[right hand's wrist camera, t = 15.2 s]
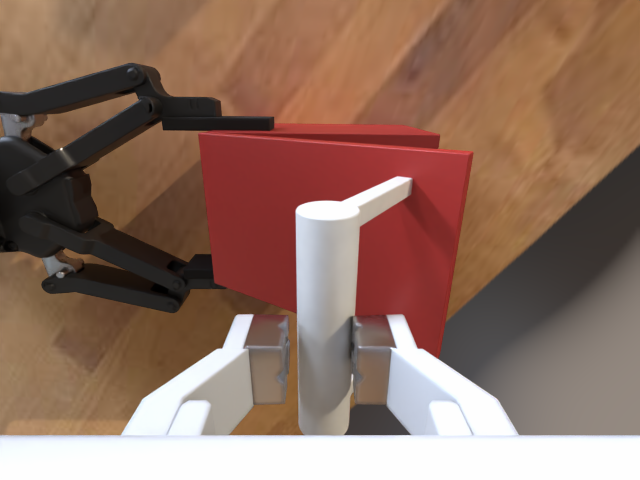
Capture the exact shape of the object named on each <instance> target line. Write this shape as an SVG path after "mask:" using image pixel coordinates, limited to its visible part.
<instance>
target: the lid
mask: <svg viewBox="0 0 640 480" xmlns="http://www.w3.org/2000/svg"><path fill="white" fill-rule="evenodd" d="M198 136H199V145H200V154H201V163H202V172H203V182H204V191H205V200H206V209H207V218H208V227H209V236H210V246H211V255H212V264H213V273H214V282H215V283H216V284H218V285H221V286H224V287H227V288H229V289H232V290H235V291H237V292H240V293H243V294H246V295H248V296H251V297H254V298H256V299H259V300H262V301H265V302H267V303H270V304H273V305H275V306H278V307H281V308H283V309H286V310H289V311H292V312H294V313H297V346H298V418H299V427H300V429H301V431H302V433H303V434H304V435H344V434H345V433H346V431H347V429H348V425H349V412H350V396H351V395H352V393H353V392H354V390H353V374H352V373H351V363H350V352H351V342H352V333H351V326H352V316H360V315H392V314H403V315H404V316H405V319H406V321H407V324H408V326H409V328H410V331H411V333H412V336H413V338H414V341H415V343H416V346H417V348H418V349H424V350H425V351H427V352H428V353H430V354H431V355H433V356H434V357H436V358H437V359H438V358H439V355H440V351H441V344H442V338H443V333H444V327H445V321H446V315H447V309H448V303H449V297H450V291H451V285H452V279H453V273H454V267H455V261H456V255H457V249H458V243H459V237H460V231H461V225H462V219H463V213H464V207H465V201H466V195H467V189H468V183H469V177H470V171H471V165H472V159H473V152H472V151H459V150H445V149H432V148H418V147H404V146H391V145H377V144H364V143H350V142H337V141H323V140H310V139H296V138H282V137H269V136H255V135H242V134H228V133H215V132H204V133H198Z"/></svg>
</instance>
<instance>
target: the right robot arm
mask: <svg viewBox="0 0 640 480" xmlns="http://www.w3.org/2000/svg"><path fill="white" fill-rule="evenodd" d="M288 333H289V318H288V315H257V314H255V315H253V314H238V315H236V316H235V318H234V321H233V323H232V326H231V328H230V331H229V333H228V336H227V338H226V341H225V343H224V346H223V348H222V349H216V350H215V351H213V352H212V353H210V354H209V355H207V356H206V357H204V358H203V359H201V360H200V361H198V362H197V363H195V364H194V365H192V366H191V367H189V368H188V369H186V370H185V371H183V372H182V373H180V374H179V375H177V376H176V377H175V378H173V379H172V380H170V381H169V382H167V383H166V384H164V385H163V386H161V387H160V388H158V389H157V390H155V391H154V392H152V393H151V394H149V395H148V396H146V397H145V398H143V399H142V401H141V403H140V404H139V406H138V408H137V409H136V411H135V413H134V414H133V416H132V418H131V419H130V421H129V423H128V424H127V426H126V428H125V429H124V431H123V432H122V434H121V435H0V480H640V435H519V434H518V433H517V431H516V429H515V428H514V426H513V424H512V422H511V421H510V419H509V418H508V416H507V414H506V413H505V411H504V409H503V408H502V406H501V404H500V402H499V401H498V399H496V398H495V397H493V396H492V395H490V394H489V393H488V392H486V391H485V390H483V389H482V388H480V387H479V386H477V385H476V384H474V383H473V382H471V381H470V380H468V379H467V378H465V377H464V376H462V375H461V374H459V373H458V372H456V371H455V370H453V369H452V368H450V367H449V366H448V365H446V364H445V363H443V362H442V361H440V360H439V359H437V358H436V357H434V356H433V355H431V354H430V353H428V352H427V351H425V350H424V349H418V348H417V346H416V343H415V341H414V338H413V336H412V333H411V331H410V328H409V326H408V324H407V321H406V319H405V316H404V315H403V314H392V315H360V316H352V326H351V333H352V342H351V352H350V363H351V373H352V374H353V390H354V398H355V404H377V405H387V407H388V409H389V410H390V411H391V412H392V413H393V414H394V416H395V417H396V418H397V419H398V420H399V421H400V422H401V424H402V425H403V426H404V427H405V428H406V429H407V431H408V432H409V433H410V434H411V435H229V434H230V433H231V432H232V431H233V430H234V428H235V427H236V426H237V425H238V424H239V423H240V422H241V420H242V419H243V418H244V417H245V416H246V415H247V413H248V412H249V411H250V410H251V409H252V408H253V405H263V404H285V398H286V390H287V374H288V373H289V362H290V340H289V339H288Z"/></svg>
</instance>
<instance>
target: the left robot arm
mask: <svg viewBox="0 0 640 480" xmlns="http://www.w3.org/2000/svg"><path fill="white" fill-rule="evenodd" d="M160 80H161V77H160V74H159V72H158V71H157V70H156V69H155V68H153V67H149V66H145V65H140V64H135V63H128V64H124V65H121V66H118V67H114V68H111V69H107V70H104V71H100V72H97V73H93V74H90V75H86V76H83V77H80V78H76V79H73V80H69V81H66V82H62V83H59V84H55V85H52V86H49V87H45V88H42V89H38V90H35V91H31V92H28V93H27V92H4V91H0V115H1V120H2V125H3V129H4V134H5V136H3V137H1V138H0V252H16V251H21V252H25V253H28V254H31V255H33V256H35V257H39V258H42V260H43V263H44V265H45V268H46V270H47V273H48V275H49V277H48V278H46V279H45V280H44V281H43V282H42V284H41V285H42V288H43V290H45V291H46V292H47V293H50V294H56V293H69V292H78V293H82V294H87V295H91V296H96V297H101V298H105V299H110V300H114V301H119V302H123V303H128V304H133V305H137V306H142V307H146V308H151V309H155V310H160V311H165V312H169V313H175V312H177V311H178V310H179V309H180V307H181V306H182V304H183V303H184V301H185V300H186V298H187V297H188V295H189V293H190V289H226V288H227V287H224V286H221V285H218V284H216V283H215V282H214V273H213V264H212V255H211V254H195V255H194V257H193V258H192V259H191V260H190V262H189V263H188V262H186V261H183V260H181V259H179V258H177V257H175V256H173V255H170V254H168V253H166V252H164V251H162V250H160V249H158V248H155V247H153V246H151V245H149V244H147V243H145V242H142V241H140V240H138V239H136V238H134V237H132V236H129V235H127V234H125V233H123V232H121V231H119V230H116V229H115V228H114V226H113V224H111V223H110V222H107V221H105V220H103V219H101V218H99V217H97V216H98V212H97V207H96V205H95V203H94V201H93V199H92V197H91V181H90V176H89V174H85V173H84V171H83V170H84V169H85V168H87V167H89V166H90V165H92V164H94V163H95V162H97V161H98V160H99V159H100V158H101V157H103V156H104V155H106V154H108V153H109V152H111V151H113V150H114V149H116V148H118V147H119V146H121V145H123V144H124V143H126V142H128V141H129V140H131V139H133V138H134V137H136V136H137V135H139V134H141V133H142V132H144V131H146V130H147V129H149V128H151V127H152V126H154V125H156V124H157V123H159V122H161V121H162V126H163V130H187V131H212V130H226V131H270V130H272V129H274V117H251V116H222V113H221V102H220V101H219V100H217V99H215V98H211V97H173V96H170V95H169V94H167V92H166V91H165V90H164V88H163V86H162V84H161V82H160ZM135 92H136V94H137V96H138V99H139V101H137V102H136V103H134V104H132V105H131V106H129V107H128V108H126V109H124V110H123V111H121V112H120V113H118V114H116V115H115V116H113V117H112V118H110V119H108V120H107V121H105V122H104V123H102V124H100V125H99V126H97V127H96V128H94V129H92V130H91V131H89V132H88V133H86V134H84V135H83V136H81V137H80V138H78V139H76V140H75V141H73V142H72V143H70V144H68V145H67V146H65V147H63V148H61V149H58V150H54V149H52V148H51V147H49V146H48V145H46V144H44V143H43V142H41V141H40V140H38V139H36V138H35V137H33V136H31V131H32V129H33V128H35V127H38V126H42V125H43V124H44V121H46V120H47V118H48V117H47V114H58V113H64V112H68V111H72V110H75V109H79V108H82V107H86V106H89V105H93V104H96V103H100V102H103V101H107V100H110V99H114V98H118V97H121V96H125V95H128V94H132V93H135ZM86 231H88V232H86ZM85 232H86V233H85ZM65 248H67V249H69V250H72V251H74V252H76V253H79V254H91V255H94V256H96V257H98V258H101V259H103V260H105V261H107V262H110V263H112V264H114V265H116V266H119V267H121V268H123V269H125V270H121V269H117V268H113V267H108V266H104V265H99V264H90V263H89V264H84V260H83V259H81V258H78V259H73V258H69V257H67V256H66V255H65V254H64V253H63V251H62V250H64V249H65ZM126 270H128V271H126Z"/></svg>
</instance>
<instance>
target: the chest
mask: <svg viewBox="0 0 640 480" xmlns="http://www.w3.org/2000/svg"><path fill="white" fill-rule="evenodd" d="M208 132H215V133H228V134H242V135H255V136H269V137H282V138H296V139H310V140H323V141H337V142H350V143H364V144H377V145H391V146H404V147H418V148H432V149H437V148H438V147H439V140H440V135H439V134H436V133H432V132H428V131H424V130H420V129H416V128H412V127H409V126H404V125H352V124H274V129H272V130H270V131H226V130H212V131H208Z"/></svg>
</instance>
